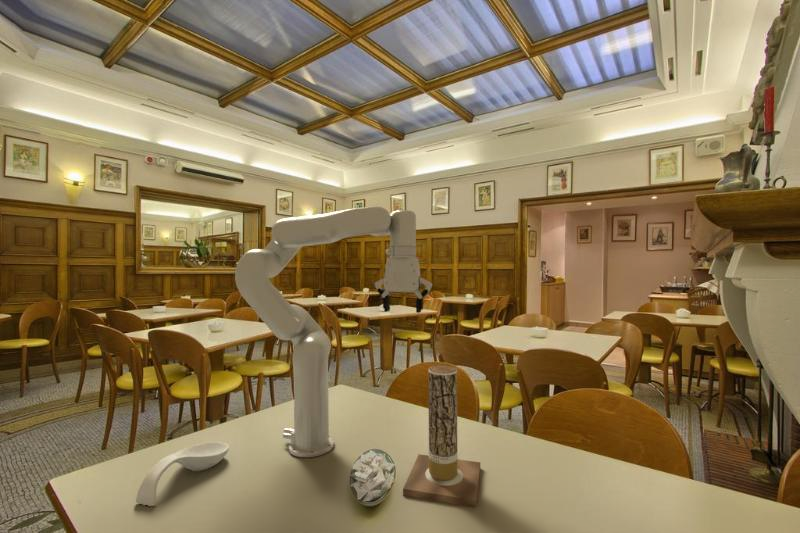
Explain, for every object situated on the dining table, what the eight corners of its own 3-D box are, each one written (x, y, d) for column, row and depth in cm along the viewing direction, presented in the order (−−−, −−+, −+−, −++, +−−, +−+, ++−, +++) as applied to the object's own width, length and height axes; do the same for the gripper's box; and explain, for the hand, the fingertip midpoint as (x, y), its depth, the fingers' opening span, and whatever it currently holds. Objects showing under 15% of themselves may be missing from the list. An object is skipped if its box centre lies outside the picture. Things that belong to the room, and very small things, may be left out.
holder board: (403, 495, 83) (403, 488, 83) (418, 459, 98) (418, 454, 98) (476, 507, 78) (475, 500, 78) (480, 468, 94) (480, 462, 94)
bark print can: (456, 483, 84) (456, 373, 85) (427, 480, 86) (426, 372, 86) (458, 468, 91) (457, 366, 91) (430, 465, 92) (430, 364, 93)
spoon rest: (200, 451, 103) (200, 426, 104) (238, 455, 101) (238, 429, 101) (122, 504, 80) (122, 471, 80) (169, 511, 78) (169, 476, 78)
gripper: (370, 252, 107) (370, 312, 107) (429, 252, 102) (428, 314, 102) (379, 254, 114) (379, 309, 114) (434, 253, 109) (434, 311, 109)
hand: (402, 311), depth 108 cm, fingers open, 9 cm apart
